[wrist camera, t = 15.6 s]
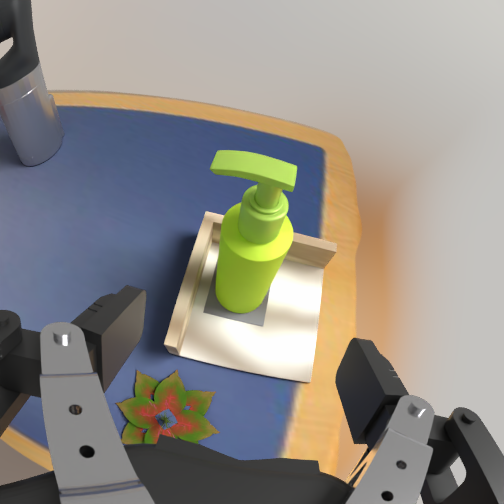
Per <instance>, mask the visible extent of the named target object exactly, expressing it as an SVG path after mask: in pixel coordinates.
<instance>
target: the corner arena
mask: <svg viewBox="0 0 504 504" xmlns="http://www.w3.org/2000/svg"><path fill="white" fill-rule="evenodd" d="M223 218H224V215H219V214H215V213H211V212H207V211H206V213H205V216H204V219H203V222H202V224H201V227H200V230H199V233H198V236H197V239H196V242H195V245H194V248H193V251H192V254H191V257H190V260H189V263H188V266H187V269H186V273H185V276H184V279H183V282H182V285H181V288H180V292H179V295H178V298H177V301H176V305H175V308H174V311H173V315H172V318H171V321H170V325H169V328H168V332H167V335H166V339H165V342H164V345H165V346H166V348H167V350H168V351H169V353H171V354H175V355H178V356H182V357H186V358H189V359H193V360H197V361H201V362H205V363H209V364H213V365H217V366H222V367H226V368H231V369H235V370H240V371H244V372H249V373H254V374H259V375H265V376H270V377H276V378H281V379H287V380H293V381H300V382H306V383H310V382H311V375H312V368H313V361H314V354H315V346H316V338H317V329H318V321H319V312H320V302H321V292H322V281H323V269H324V268H325V266H326V265H327V264H328V262H329V261H330V260H331V258H332V257H333V256H334V254H335V253H336V249H337V244H336V243H333V242H329V241H325V240H321V239H317V238H313V237H309V236H306V235H302V234H298V233H294V232H293V240H292V244H291V246H290V248H289V250H288V252H287V254H286V256H285V258H284V260H283V262H282V264H281V266H280V268H279V270H278V272H277V274H276V276H275V278H274V280H273V282H272V284H271V286H270V288H269V289H268V291H267V293H266V295H265V297H264V299H263V301H262V303H261V304H260V305H259V307H257V308H256V309H255V310H253V311H251V312H248V313H234V312H231V311H229V310H227V309H226V308H224V307H223V306H222V305H221V304H220V302H219V301H218V299H217V297H216V292H215V286H216V275H217V264H218V254H219V244H220V234H221V225H222V220H223Z"/></svg>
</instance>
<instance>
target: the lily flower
mask: <svg viewBox="0 0 504 504" xmlns="http://www.w3.org/2000/svg"><path fill="white" fill-rule="evenodd" d="M136 380H137V382H136V383H135V396H136V397H135V398H130V399H128V400H125V401H123V402H122V403H120V402H119V403H116V404H117V405H118V406H119V408H120V409H121V411H123V412H124V413H123V414H124V415H125V417H126V418H127V419H128V420H129V421H130V422H129V423H128V424H127V425H126V427H125V429H124V432H123V434H122V439H121V442H122V443H124V444H128V445H129V444H140V443H144V444H157V441H158V438H159V435H160V434H162V435H166V436H169V437H173V438H176V439H178V438H177V437H179V438H180V439H182V440H184V441H188V442H192V443H196V444H198V440H202V439H204V438H207V437H209V436H211V435H212V434H213V433H214V434H216V433H220V432H219V431H217V430H216V429H215V428H214V427H213V426H212V425H210V422H209V421H208V420H207V419H206V418H204V417H203V416H204V415H205V413H206V412H207V410H208V408H209V406H210V403H211V401H212V399H211V398H212V396H214V394H215V392H207V391H205V392H202V391H198V390H191V391H185V388H184V385H183V383H182V381H181V379H180V377H179V376H178V370H176V371H175V373H173V374H172V375H170V376H169V378H166V379H164V380H163V381H162V382H161V383H159V382H158V381H157V380H155V379H153V378H151V377H149V376H147V375H145V374H141V372H139V371H138V370H137V376H136ZM150 393H151V394H152V395H154V401H155V402H154V401H153V400H151V396H150V395H151V394H150ZM185 406H191V407H190V409H189V410H183V409H184V407H185ZM168 408H169V409H170V411H171V412H172V413H173V415H174V416H175V417H176V419H177V422H178V423H177V424H174V425H173V426H172V427H169V428H168V427H167V422H169V421H170V420H169V421H168V420H167V419H168V418H169V417H168V418H167V417H166V418H165V413H164V418H163V416H162V418H163V419H161V418H159V419H161V420H163V421H164V420H165V421H166V422H165V421H164V422H165V423H166V427H167V429H166V430H163V428H162V426H163V424H164V423H163V424H162V426H160V425H159V423H158V422H157V420H156V419H157V418H156V417H155V415H157V414H159V413H160V412H162V411H163V410H166V409H168ZM159 415H160V414H159ZM171 422H172V421H171ZM171 422H169V423H171ZM173 423H174V422H173ZM168 425H169V424H168ZM163 427H164V426H163ZM143 428H145V429H148V428H149V429H148V430H147V432H146V433H142V432H141V431H143ZM145 429H144V430H145Z"/></svg>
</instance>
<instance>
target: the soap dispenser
mask: <svg viewBox="0 0 504 504" xmlns="http://www.w3.org/2000/svg"><path fill="white" fill-rule="evenodd" d="M210 170H211V171H212V172H213V173H214V174H216V175H228V176H235V177H241V178H245V179H249V180H253V181H256V182H258V185H255V186H252V187H250V188H249V189H248V190H246V192H245V193H244V195H243V198H242V202H241V203H238V204H236V205H235V206H233V207H232V208H230V209H229V210H228V211H227V213H226V214H225V216H224V218H223V220H222V225H221V234H220V244H219V254H218V264H217V275H216V286H215V292H216V297H217V299H218V301H219V302H220V304H221V305H222V306H223V307H224V308H226V309H227V310H229V311H231V312H234V313H248V312H251V311H253V310H255V309H256V308H257V307H259V305H260V304H261V303H262V301H263V299H264V297H265V295H266V293H267V291H268V289H269V288H270V286H271V284H272V282H273V280H274V278H275V276H276V274H277V272H278V270H279V268H280V266H281V264H282V262H283V260H284V258H285V256H286V254H287V252H288V250H289V248H290V246H291V244H292V240H293V228H292V225H291V222H290V220H289V219H288V217H287V216H286V214H287V212H288V200H287V198H286V196H285V195H284V194H283V193H282V190H283V189H284V190H287V191H290V192H292V191H293V189H294V185H295V179H296V172H297V166H295V165H292V164H289V163H287V162H284V161H281V160H277V159H274V158H271V157H268V156H264V155H260V154H256V153H250V152H244V151H231V150H219V151H217V153H216V155H215V157H214V160H213V162H212V164H211V167H210Z"/></svg>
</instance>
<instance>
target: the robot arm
mask: <svg viewBox="0 0 504 504" xmlns="http://www.w3.org/2000/svg"><path fill="white" fill-rule="evenodd" d="M11 37H13V46H12V47H11V49H10V50H9V51H8V52H7V53H6V54H5V55H4V56H3V57H2V58H1V59H0V115H1V118H2V120H3V122H4V125H5V127H6V130H7V132H8V134H9V136H10V139H11V141H12V143H13V145H14V147H15V149H16V151H17V154H18V156H19V158H20V160H21V162H22V163H23V164H24V165H26V166H34V165H38V164H40V163H42V162H44V161H46V160H48V159H49V158H50V157H52V156H53V155H54V154H55V153H56V152H57V150H58V149H59V148H60V146H61V143H62V137H63V135H64V131H63V128H62V125H61V121H60V118H59V115H58V112H57V108H56V105H55V101H54V98H53V95H51V94H48V92H47V88H46V85H45V81H44V77H43V74H42V69H41V66H40V61H39V57H38V52H37V47H36V42H35V36H34V30H33V22H32V8H31V0H0V43H1V42H3V41H5V40H7V39H9V38H11ZM145 304H146V291H145V290H142V289H139V288H135V287H132V286H128V285H127V286H125V287H124V288H123V289H122V290H121V291H119V292H118V293H117V294H116V295H115V294H109V295H106V296H103V297H100V298H99V299H98V300H97V301H96V302H94V304H92V305H91V306H90V307H88V309H86V310H85V311H84V312H83V313H81V314H80V315H79V316H78V317H77V318H76V319H75V320H73V321H72V322H71V323H66V322H56V323H51V324H49V325H47V326H45V327H44V328H43V329H42V331H41V332H35V331H31V330H26V329H22V328H21V321H20V318H19V316H18V315H17V314H16V313H14V312H12V311H8V310H0V437H1V435H2V434H3V432H4V431H5V430H6V428H7V427H8V425H9V424H10V423H11V421H12V420H13V418H14V417H15V416H16V414H17V413H18V412H19V410H20V409H21V408H22V406H23V405H24V404H25V402H26V401H27V400H28V399H29V397H30V396H31V395H32V396H36V397H40V398H42V407H43V414H44V422H45V428H46V434H47V440H48V445H49V450H50V455H51V459H52V464H53V468H54V471H50V472H47V473H44V474H41V475H38V476H34V477H31V478H28V479H24V480H20V481H17V482H13V483H10V484H5V485H1V486H0V504H416V503H417V500H418V497H419V494H421V497H422V500H423V504H504V456H503V454H502V452H501V451H500V449H499V447H498V446H497V444H496V442H495V441H494V439H493V438H492V436H491V435H490V433H489V432H488V430H487V428H486V427H485V425H484V424H483V422H482V421H481V419H480V418H479V417H478V415H477V414H475V413H474V412H472V411H471V410H469V409H466V408H462V407H459V408H456V409H454V411H453V412H452V414H451V415H450V417H449V418H445V417H441V416H436V415H434V410H433V408H432V407H431V405H430V404H429V403H428V402H427V401H425V400H424V399H422V398H420V397H417V396H413V395H409V394H408V392H407V390H406V388H405V387H404V385H403V383H402V382H401V380H400V378H398V375H397V373H396V372H395V371H394V368H393V367H392V365H391V364H390V362H389V361H388V360H387V359H386V358H385V357H383V356H382V355H381V354H380V353H379V351H378V350H377V348H376V346H375V345H374V343H373V342H372V341H371V340H365V339H359V338H353V339H352V340H351V341H350V343H349V345H348V348H347V350H346V352H345V355H344V357H343V359H342V361H341V363H340V366H339V368H338V370H337V374H336V387H337V390H338V393H339V396H340V399H341V402H342V406H343V409H344V412H345V415H346V419H347V422H348V425H349V428H350V432H351V435H352V438H353V441H354V444H367V445H368V447H367V449H366V450H365V451H364V453H363V454H362V456H361V458H360V459H359V461H358V462H357V464H356V465H355V467H354V469H353V470H352V472H351V473H350V474H349V476H348V477H347V479H346V480H345V482H344V481H342V480H341V479H339V478H337V477H334V476H332V475H329V474H326V473H323V472H320V470H319V464H318V461H314V460H299V459H287V458H275V459H262V460H237V459H234V458H232V457H229V456H227V455H224V454H221V453H219V452H217V451H214V450H212V449H209V448H207V447H205V446H202V445H200V444H196V443H192V442H188V441H184V440H180V439H176V438H173V437H169V436H166V435H162V434H160V435H159V438H158V441H157V444H144V443H140V444H129V445H123V444H122V442H121V439H120V437H119V434H118V432H117V429H116V427H115V424H114V421H113V419H112V416H111V413H110V411H109V408H108V405H107V402H106V399H105V396H104V393H105V391H106V390H107V388H108V387H109V385H110V384H111V382H112V381H113V379H114V378H115V376H116V375H117V373H118V372H119V370H120V369H121V367H122V366H123V364H124V363H125V361H126V360H127V358H128V357H129V355H130V354H131V352H132V351H133V350H134V348H135V347H136V345H137V344H138V342H139V340H140V338H141V335H142V332H143V326H144V315H145ZM459 456H460V458H461V460H462V462H463V464H464V466H465V469H466V478H465V481H464V482H463V483H462V484H461V485H460V486H459V487H458V485H457V483H456V481H455V478H454V476H453V474H452V472H451V469H450V466H451V465H452V464H453V463H454V462H455V460H456V459H457V458H458V457H459Z"/></svg>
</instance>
